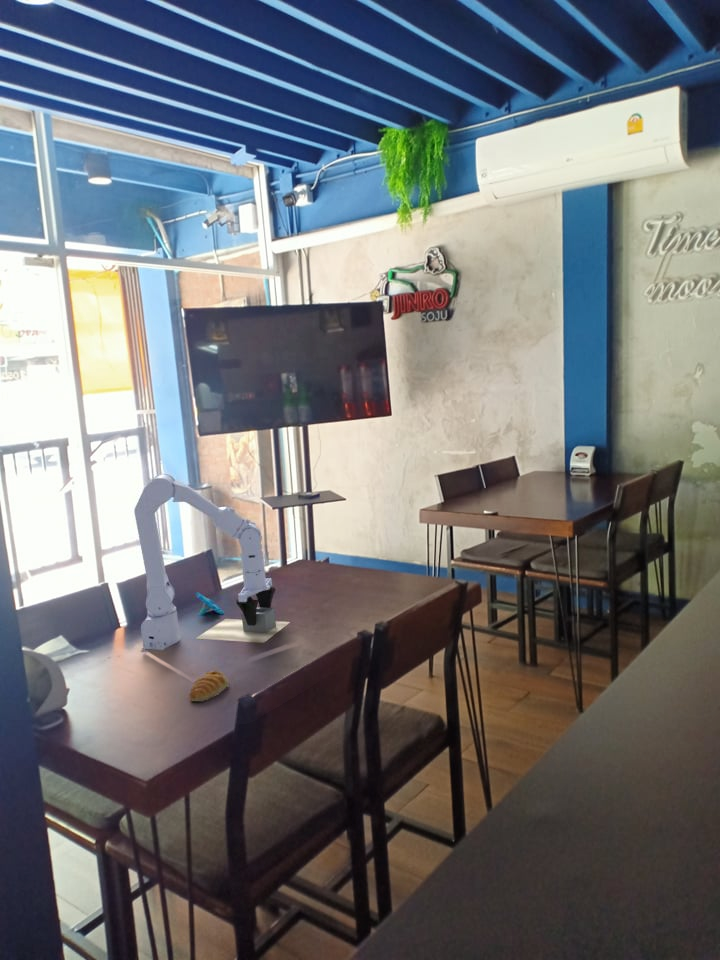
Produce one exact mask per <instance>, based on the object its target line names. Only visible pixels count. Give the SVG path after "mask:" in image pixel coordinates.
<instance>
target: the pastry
mask: <svg viewBox="0 0 720 960" xmlns="http://www.w3.org/2000/svg"><path fill="white" fill-rule="evenodd" d="M229 684H230V682H229V680H228V678H227V677H226V676H225V674H223V672H221V671H219V670H212V671H207V672H206V674H204V675H203V676H201V677H199V678H198V679H197V680H196V681H195V683H194V684H193V685H192V687H191V689H190V693H189V698H190V701H191V702H205V701H204V700H207V699H209V698H211V697H213V696H215V695H218V696H219V695H220V694H221V693H222V692H221V691H222V690H224V689H225V688H226V687H227V688H228V687H229ZM227 688H226V689H227ZM226 689H225V690H226ZM225 690H224V691H225ZM220 692H221V693H220ZM219 693H220V694H219ZM213 698H214V697H213ZM211 699H212V698H211ZM209 700H210V699H209ZM207 701H208V700H207Z"/></svg>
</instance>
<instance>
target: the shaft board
mask: <svg viewBox="0 0 720 960" xmlns="http://www.w3.org/2000/svg"><path fill="white" fill-rule="evenodd" d="M290 623H291V622H290V621H276V627H274V628H273V629H272V630H270V631H269V632H268V633H260V632H244V631H243V623H242V619H238V618H237V619H235V618H233V619H232V618H225V619H223V620H222V621H220V622H218V623H217V624H215V625H214V626H212V627H211V628H209V629H207V630H206V631H205V632H203V633H202V634H200V635H198V636H197V637H195V639H196V640H197V639H198V640H215V641H225V642H226V641H228V642H231V641H232V642H243V643H244V642H245V643H246V642H247V643H262V644H264V643H266V642H267V641H268V640H269V639H271V638H272V637H273V636H274V635H276V634H277V633H279V632H280V631H281V630H282V629H283V628H285V627H286V626H288V625H290Z"/></svg>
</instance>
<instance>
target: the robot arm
mask: <svg viewBox="0 0 720 960" xmlns="http://www.w3.org/2000/svg"><path fill="white" fill-rule="evenodd" d="M172 498H173V499H172ZM171 499H172V503H186V504H187V505H190V506H192V507H193V508H194V509H196V510H198V511H199V512H201V513H202V514H204V515H206V516H207V517H210V518H211V520H212V525H213V526H214V527H216V528H217V529H219V530H220V531H221V532H223V533H225V534H226V535H227V536H230V537H231V538H232V539H235V540H238V544H239V546H240V549H241V550H240V551H241V552H240V559H241V561H240V562H241V569H242V571H241V572H242V581H243V588H242V589H241V591H240V592H239V593H238V594H237V597H238V598H237V599H236V603H235V604H236V605H237V607H238V608H239V610H241V613H242V612H243V614H244V617H245V619H246V622H247V624H248V625H250V626H255V625H256V609H257V607H258V605H259V607H262V608H272V602H273V597H274V595H275V592H276V587H273V580H272V578H271V577H270V578H269V577H268V578H266V570H265V559H264V551H263V550H262V549H263V545H262V540H263V536H262V532H261V528H260V527H259V526H258V525H257V524H256V523H255V522H252V521H251V520H250V519H249V518H244V517H242V516H241V515H240V514H238V513H236V512H235V511H236V509H235V508H233V507H232V506H231V507H228V506H221V507H219V506H217V505H216V504H214V503H213V502H212V501H210V500H209V499H207V498H206V497H205V496H203V495H202V494H201V493H199V492H198V491H197V490H195V489H194V488H192V487H191V486H189V485H187V484H186V483H185V482H183V481H181V480H179V479H177V478H176V479H175V477H174V476H172V475H170V474H168V473H160V474H157V475H155V476H154V477H153V478H152V480H151V481H150V482H149V483H148V484H147V485H146V486H145V487H143V489H142V492H141V494H140V496H139V499H138V501H137V503H136V505H135V508H134V516H135V522H136V528H137V533H138V538H139V539H138V540H139V544H140V549H141V554H142V559H143V565H144V570H145V576H146V591H147V596H146V600H145V607H146V610H147V614H146V615H147V616H146V618H145V620H144V621H142V622H141V624H140V633H141V634H140V635H141V642H142V648H141V649H140V651H141V652H146V653H147V652H149V650H155V651H156V650H157V651H158V650H159V651H163V650H165V649H167V648H168V647H170V646H172V645H174V644H176V643H177V644H178V642H180V641H181V637H180V627H179V626H180V625H179V618H178V611H177V606H175V604H174V603H173V600H174V598H175V593H176V592H175V589H174V586H172V584H171V583H170V581H169V577H168V574H167V572H166V567H165V561H164V556H163V555H164V554H163V550H162V546H161V539H160V533H159V530H158V529H159V528H158V524H157V517H156V512H157V511H158V510H159V509H160V507H161V506H163V505H164V504H166V503H167V502H169V500H171ZM253 596H256V598H257V599H253V598H252V597H253Z"/></svg>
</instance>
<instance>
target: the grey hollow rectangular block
mask: <svg viewBox="0 0 720 960" xmlns="http://www.w3.org/2000/svg"><path fill="white" fill-rule="evenodd" d="M275 611H276V610H275V607H271V608H262V607H260V606H259V607H258V606H257V609H256V625H255V626H250V625H248V624H247V622H246V619H245V617H244V614H243V612H242V611H241V620H242V623H243V631H244V632H260V633H268V632H269V631H270V630H272V629H273V628H274V627H276V614H275Z"/></svg>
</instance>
